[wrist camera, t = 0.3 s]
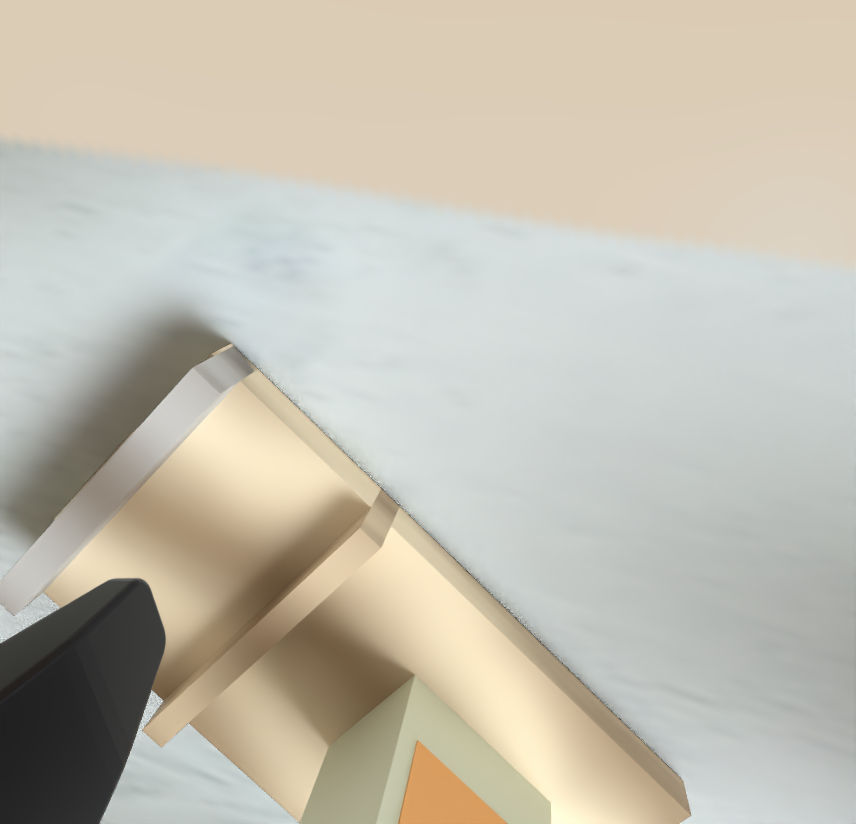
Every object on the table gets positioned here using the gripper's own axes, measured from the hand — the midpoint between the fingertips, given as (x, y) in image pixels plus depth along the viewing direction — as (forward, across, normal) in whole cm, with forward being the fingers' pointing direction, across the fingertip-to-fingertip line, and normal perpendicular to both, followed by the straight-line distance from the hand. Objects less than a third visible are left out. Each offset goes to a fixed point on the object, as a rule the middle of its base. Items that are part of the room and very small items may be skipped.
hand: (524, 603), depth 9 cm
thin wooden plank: (+12, +7, +13) cm, 19 cm away
